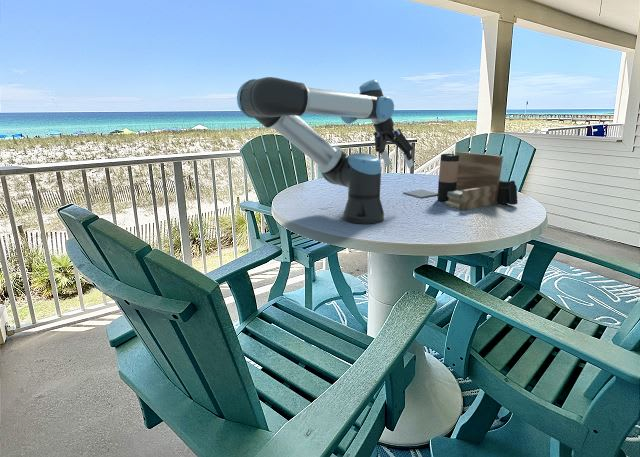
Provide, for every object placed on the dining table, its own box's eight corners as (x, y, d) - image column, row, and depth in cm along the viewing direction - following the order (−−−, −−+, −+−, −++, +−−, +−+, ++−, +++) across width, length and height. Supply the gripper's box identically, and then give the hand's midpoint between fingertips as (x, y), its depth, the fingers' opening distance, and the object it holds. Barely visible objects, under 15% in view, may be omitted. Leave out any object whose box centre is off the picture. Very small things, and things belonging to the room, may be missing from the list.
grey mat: (421, 198, 168) (421, 196, 168) (402, 193, 178) (403, 192, 178) (439, 195, 174) (439, 193, 174) (421, 190, 184) (421, 189, 184)
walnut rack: (463, 210, 147) (469, 159, 141) (422, 200, 165) (426, 154, 159) (496, 203, 157) (502, 156, 151) (454, 194, 175) (458, 151, 169)
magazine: (524, 186, 146) (482, 156, 170) (517, 187, 146) (476, 156, 170) (510, 222, 156) (471, 189, 180) (503, 223, 155) (465, 189, 179)
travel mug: (436, 201, 161) (440, 155, 155) (436, 198, 168) (440, 153, 162) (455, 202, 159) (460, 156, 153) (454, 198, 166) (459, 153, 160)
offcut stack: (459, 209, 150) (461, 195, 148) (445, 205, 156) (446, 191, 154) (485, 204, 157) (487, 190, 155) (470, 200, 164) (472, 187, 162)
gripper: (410, 112, 138) (427, 162, 147) (368, 117, 159) (386, 160, 168) (397, 122, 136) (415, 171, 145) (356, 125, 157) (374, 169, 166)
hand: (399, 165), depth 157 cm, fingers open, 13 cm apart
